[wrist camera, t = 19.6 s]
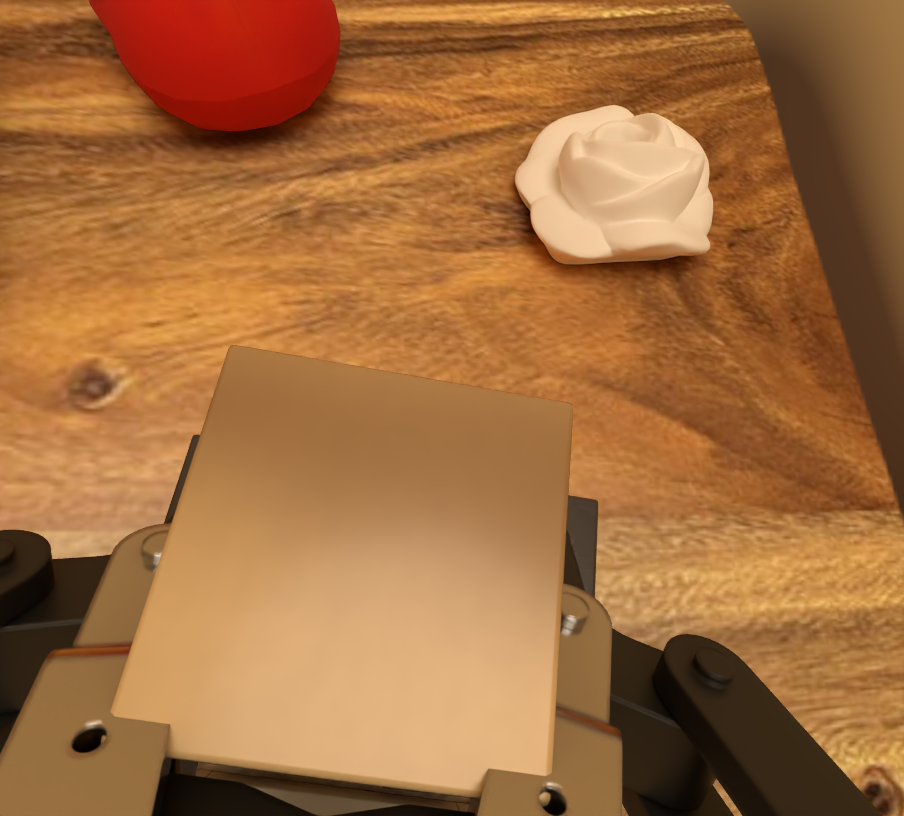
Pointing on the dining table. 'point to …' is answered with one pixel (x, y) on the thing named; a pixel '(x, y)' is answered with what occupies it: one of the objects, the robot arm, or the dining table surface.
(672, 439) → the dining table surface
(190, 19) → the tomato
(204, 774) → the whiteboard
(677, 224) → the rose
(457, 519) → the eraser
